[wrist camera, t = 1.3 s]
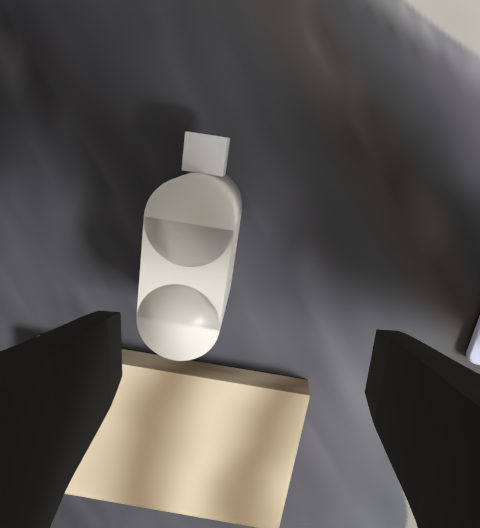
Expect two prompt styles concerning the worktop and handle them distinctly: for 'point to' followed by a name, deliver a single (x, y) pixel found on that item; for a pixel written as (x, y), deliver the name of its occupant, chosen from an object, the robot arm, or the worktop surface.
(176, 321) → the capped bottle
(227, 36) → the worktop surface
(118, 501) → the birch board
